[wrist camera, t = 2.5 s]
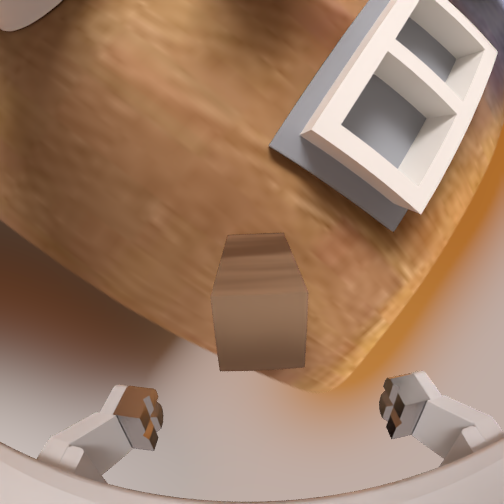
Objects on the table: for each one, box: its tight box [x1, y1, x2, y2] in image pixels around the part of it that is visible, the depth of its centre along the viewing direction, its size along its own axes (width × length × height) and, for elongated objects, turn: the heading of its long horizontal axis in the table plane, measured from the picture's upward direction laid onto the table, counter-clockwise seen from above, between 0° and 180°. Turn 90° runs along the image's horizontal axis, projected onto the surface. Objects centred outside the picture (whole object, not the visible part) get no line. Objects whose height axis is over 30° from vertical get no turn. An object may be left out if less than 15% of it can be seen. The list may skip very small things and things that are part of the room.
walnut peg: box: [211, 233, 308, 371], centre depth 18 cm, size 4×4×10 cm
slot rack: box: [269, 0, 498, 232], centre depth 16 cm, size 19×11×5 cm, turn 148°
